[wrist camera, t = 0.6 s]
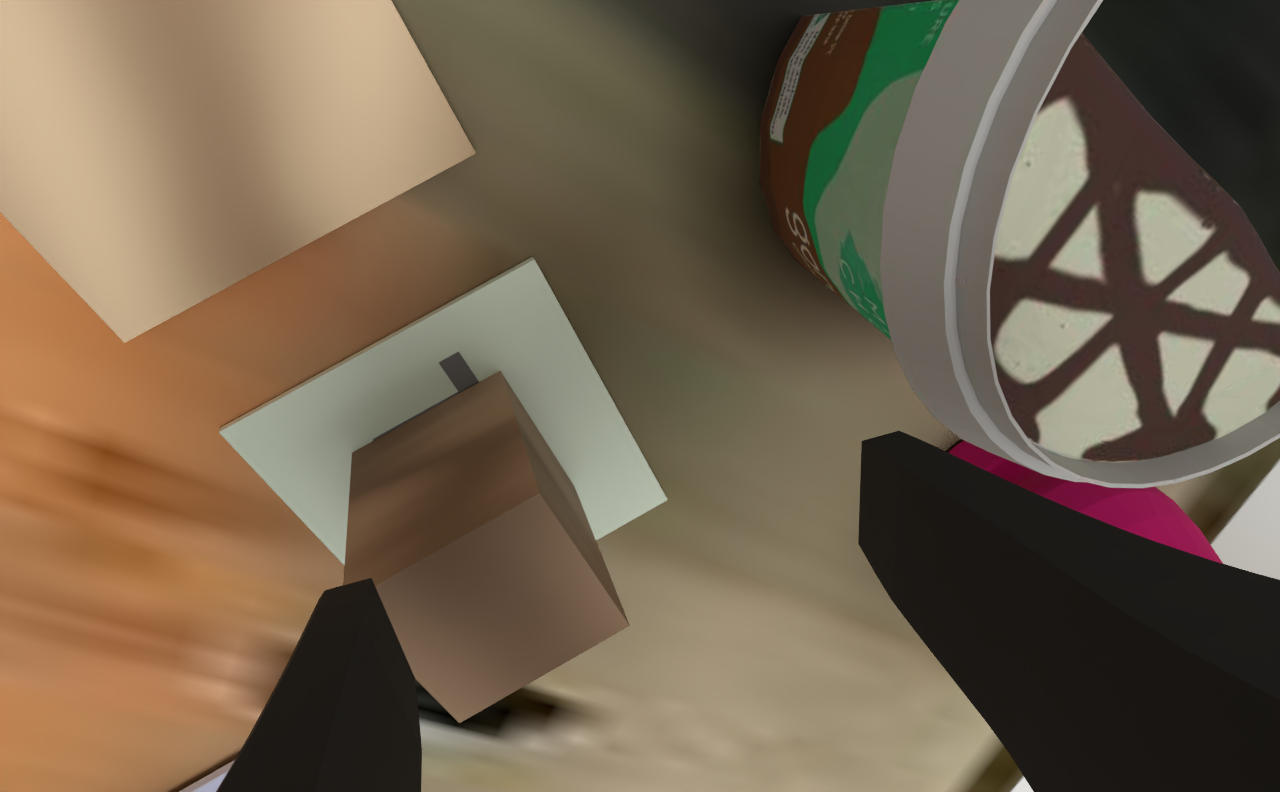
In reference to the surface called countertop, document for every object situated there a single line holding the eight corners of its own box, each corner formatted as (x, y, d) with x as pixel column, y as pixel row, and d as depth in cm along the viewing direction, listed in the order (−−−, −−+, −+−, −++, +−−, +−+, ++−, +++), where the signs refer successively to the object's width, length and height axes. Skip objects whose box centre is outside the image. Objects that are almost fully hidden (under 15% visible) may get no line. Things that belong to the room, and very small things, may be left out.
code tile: (416, 636, 24) (416, 642, 24) (220, 427, 19) (218, 432, 19) (665, 495, 24) (668, 500, 24) (532, 256, 20) (534, 259, 19)
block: (442, 560, 23) (459, 722, 18) (351, 452, 20) (342, 604, 15) (574, 486, 23) (629, 625, 18) (500, 370, 21) (539, 492, 15)
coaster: (131, 333, 18) (124, 342, 17) (-263, -89, 13) (-289, -92, 12) (473, 148, 18) (475, 153, 18) (210, -325, 13) (203, -339, 13)
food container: (620, 198, 20) (801, 350, 11) (758, -24, 18) (1087, -44, 10) (915, 389, 26) (1181, 585, 17) (1038, 232, 24) (1395, 359, 16)
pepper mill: (1095, 414, 29) (2135, 1020, 12) (1017, 569, 31) (1762, 1238, 14) (941, 402, 26) (1986, 1153, 9) (871, 572, 29) (1569, 1387, 12)
